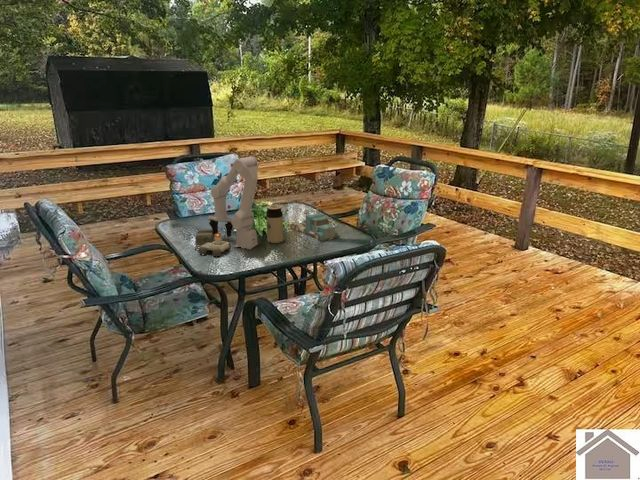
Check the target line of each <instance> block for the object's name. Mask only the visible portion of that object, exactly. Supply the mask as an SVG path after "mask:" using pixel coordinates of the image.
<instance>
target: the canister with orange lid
mask: <svg viewBox="0 0 640 480" xmlns="http://www.w3.org/2000/svg"><path fill="white" fill-rule="evenodd" d="M214 238H215V245H219V246H222V241H223V240H222V233H221V232H218V233H216V234H214Z"/></svg>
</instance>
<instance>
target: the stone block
mask: <svg viewBox="0 0 640 480" xmlns="http://www.w3.org/2000/svg"><path fill="white" fill-rule="evenodd" d="M214 239H215V238H214V232H213V229H198V230H197V233H196V234H195V246H196V245H204V244H206V243H208V242H209V243H211V242H213V241H214Z"/></svg>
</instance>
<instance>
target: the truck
mask: <svg viewBox="0 0 640 480" xmlns="http://www.w3.org/2000/svg"><path fill="white" fill-rule="evenodd" d="M319 207H320V206H319ZM319 207H316V209H315V213H313V214H310V213H309V209H306V208H305V209H304V211H305V220H304V221H303V222H298V221H296V222H292V223H291V224H290V228H291V229H292V230H295V231H296V232H301V233H303V234H305V235H306V236H309V237H311V238H314V239H315V240H317V241H319V242H320V243H321V242H326V241H331V240H334V239H338V238H341V235H339V233H338V229H336V226H334V225H333V223H331V222H330V220H329V218H328V217H326V216H325V214H324V213H322V212H320V208H319Z"/></svg>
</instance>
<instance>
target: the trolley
mask: <svg viewBox="0 0 640 480" xmlns="http://www.w3.org/2000/svg"><path fill="white" fill-rule="evenodd" d="M198 247H200V248H198ZM195 249H199V250H198V254H199V253H200V254H205V255H207V253H208V251H212V253H211V254H212V256H213V257H214V256H219V257H220V256H221V255H222V252H228V251H231V249H232V246H231V244H230V243H229V242H228V241H224V240H222V246H219V245H215V241H213V242H211V243H209V242H208V243H206V244H204V245H199V246H197V247H196V246H195V247H194V250H195ZM224 250H226V251H224ZM200 254H199V255H200Z"/></svg>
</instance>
